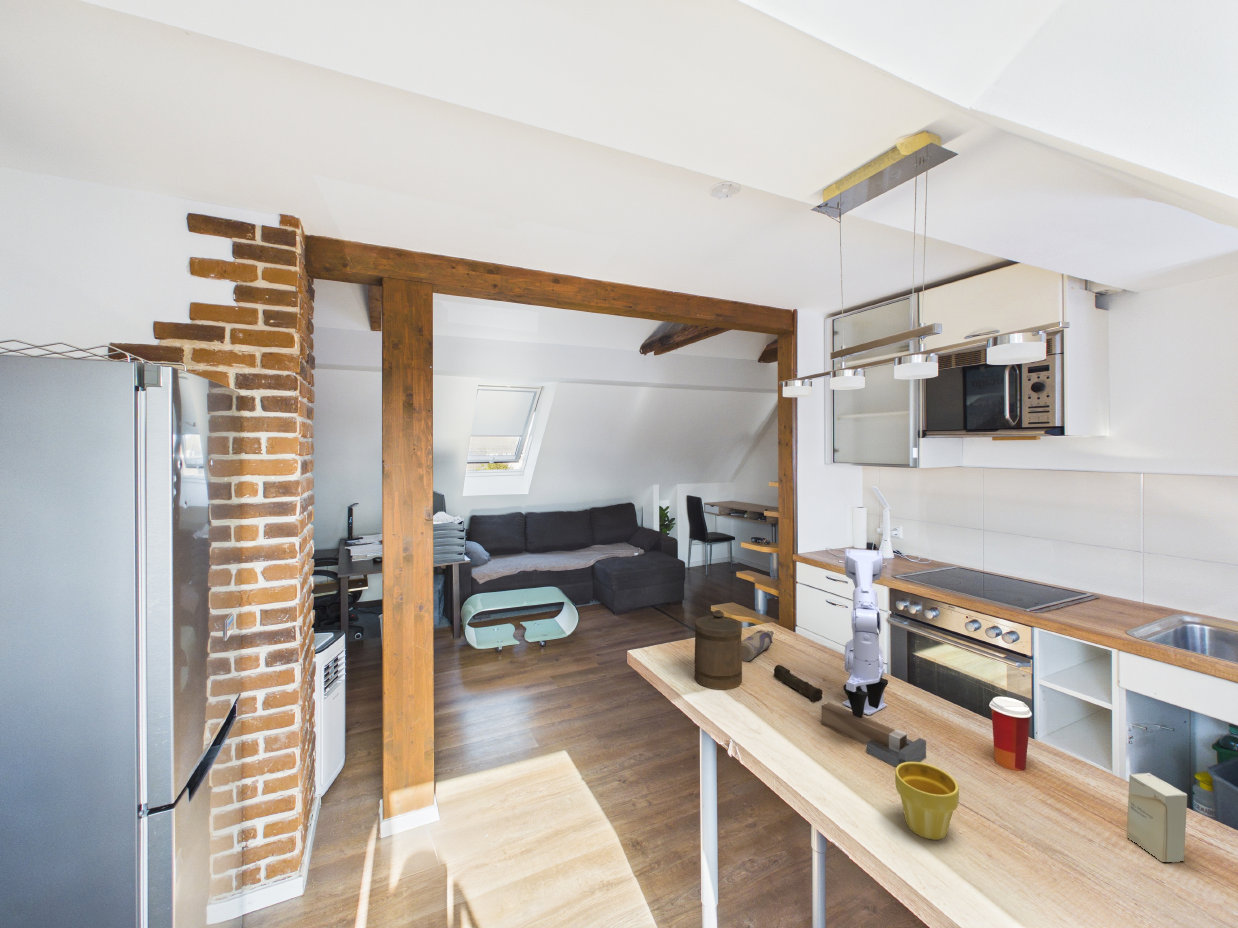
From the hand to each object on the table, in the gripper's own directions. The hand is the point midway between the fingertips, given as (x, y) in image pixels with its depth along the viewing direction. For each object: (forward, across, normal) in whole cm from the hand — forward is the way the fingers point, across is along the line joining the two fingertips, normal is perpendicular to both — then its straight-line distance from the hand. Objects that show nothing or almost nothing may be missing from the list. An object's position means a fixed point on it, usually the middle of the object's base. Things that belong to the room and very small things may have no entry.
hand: (865, 711), depth 127 cm
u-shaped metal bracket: (+7, 0, +8) cm, 10 cm away
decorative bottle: (+8, -25, -53) cm, 59 cm away
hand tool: (+8, -10, -28) cm, 31 cm away
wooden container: (+8, +4, -46) cm, 47 cm away
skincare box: (+7, -7, +49) cm, 50 cm away
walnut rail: (+7, 0, -1) cm, 7 cm away
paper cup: (+8, -17, +25) cm, 31 cm away
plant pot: (+7, +20, +22) cm, 31 cm away
